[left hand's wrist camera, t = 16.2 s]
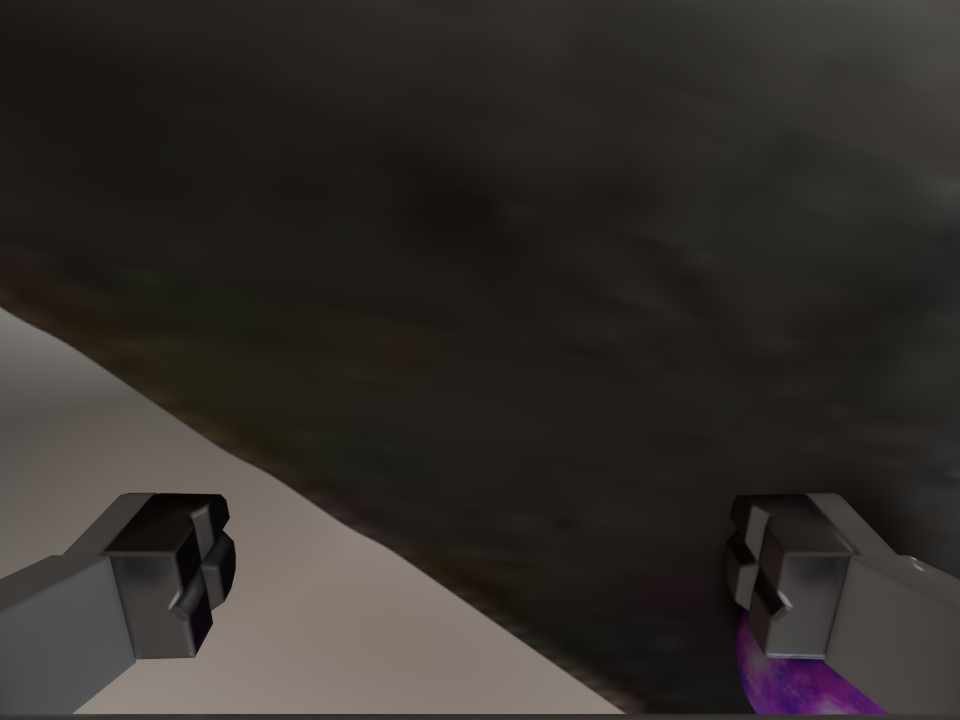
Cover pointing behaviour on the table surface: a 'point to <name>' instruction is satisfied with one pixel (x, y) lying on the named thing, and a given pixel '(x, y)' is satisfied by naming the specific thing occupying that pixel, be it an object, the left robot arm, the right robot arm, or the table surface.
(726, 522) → the table surface
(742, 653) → the decorative orb
